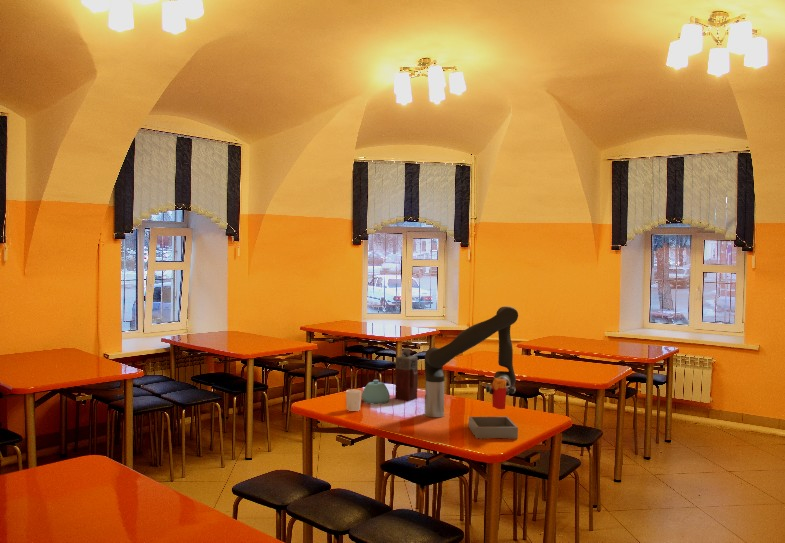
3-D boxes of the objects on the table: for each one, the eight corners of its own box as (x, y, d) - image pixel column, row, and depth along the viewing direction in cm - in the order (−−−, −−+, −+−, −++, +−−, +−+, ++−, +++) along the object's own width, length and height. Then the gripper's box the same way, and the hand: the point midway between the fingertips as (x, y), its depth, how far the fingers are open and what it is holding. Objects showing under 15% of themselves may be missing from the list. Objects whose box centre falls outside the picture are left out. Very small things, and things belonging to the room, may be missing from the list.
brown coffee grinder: (412, 401, 334) (413, 350, 333) (395, 399, 340) (395, 348, 339) (420, 398, 342) (421, 348, 341) (403, 396, 348) (404, 346, 347)
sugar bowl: (373, 396, 345) (373, 376, 345) (395, 400, 336) (395, 379, 336) (356, 401, 333) (356, 380, 333) (378, 406, 324) (378, 384, 324)
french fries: (489, 405, 284) (490, 377, 283) (498, 404, 285) (498, 376, 285) (500, 410, 275) (501, 381, 275) (508, 409, 277) (509, 380, 276)
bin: (476, 439, 267) (476, 427, 267) (468, 427, 285) (469, 416, 285) (517, 438, 269) (517, 427, 269) (507, 427, 287) (507, 416, 286)
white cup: (355, 413, 309) (355, 393, 308) (342, 410, 313) (342, 391, 312) (364, 410, 315) (364, 390, 315) (351, 407, 319) (351, 388, 319)
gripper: (486, 376, 297) (482, 383, 280) (517, 378, 293) (514, 385, 277) (486, 391, 297) (482, 399, 281) (517, 394, 293) (514, 402, 277)
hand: (498, 392), depth 279 cm, fingers closed on french fries, 5 cm apart
